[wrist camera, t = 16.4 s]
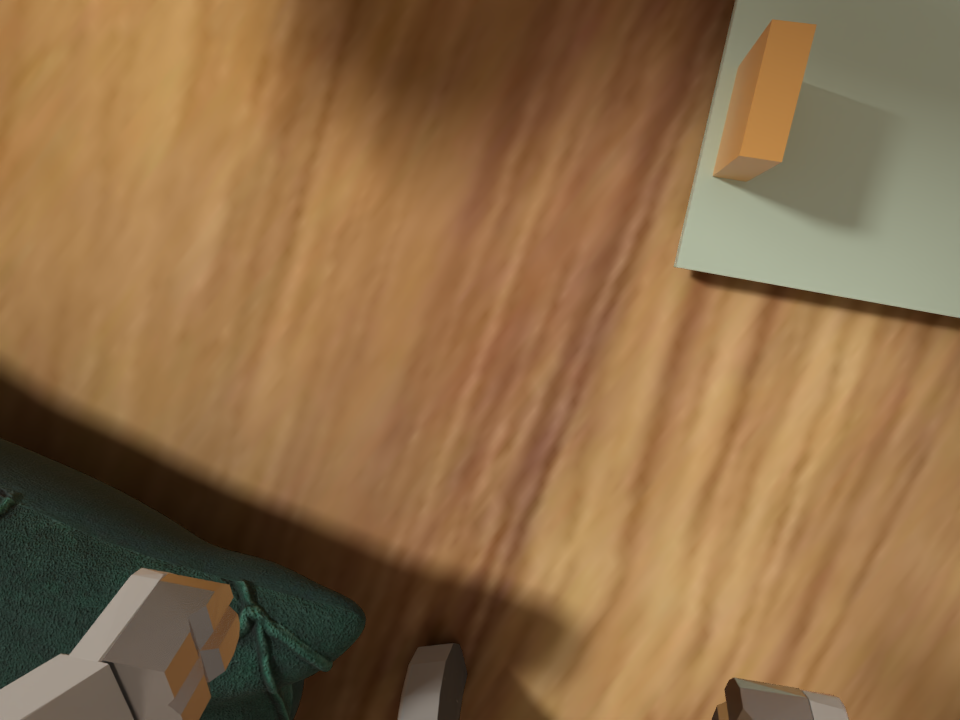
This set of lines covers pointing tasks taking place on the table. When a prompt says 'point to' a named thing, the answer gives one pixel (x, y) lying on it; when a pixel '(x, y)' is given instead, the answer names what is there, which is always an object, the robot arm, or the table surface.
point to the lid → (834, 152)
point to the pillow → (158, 546)
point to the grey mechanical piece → (434, 684)
